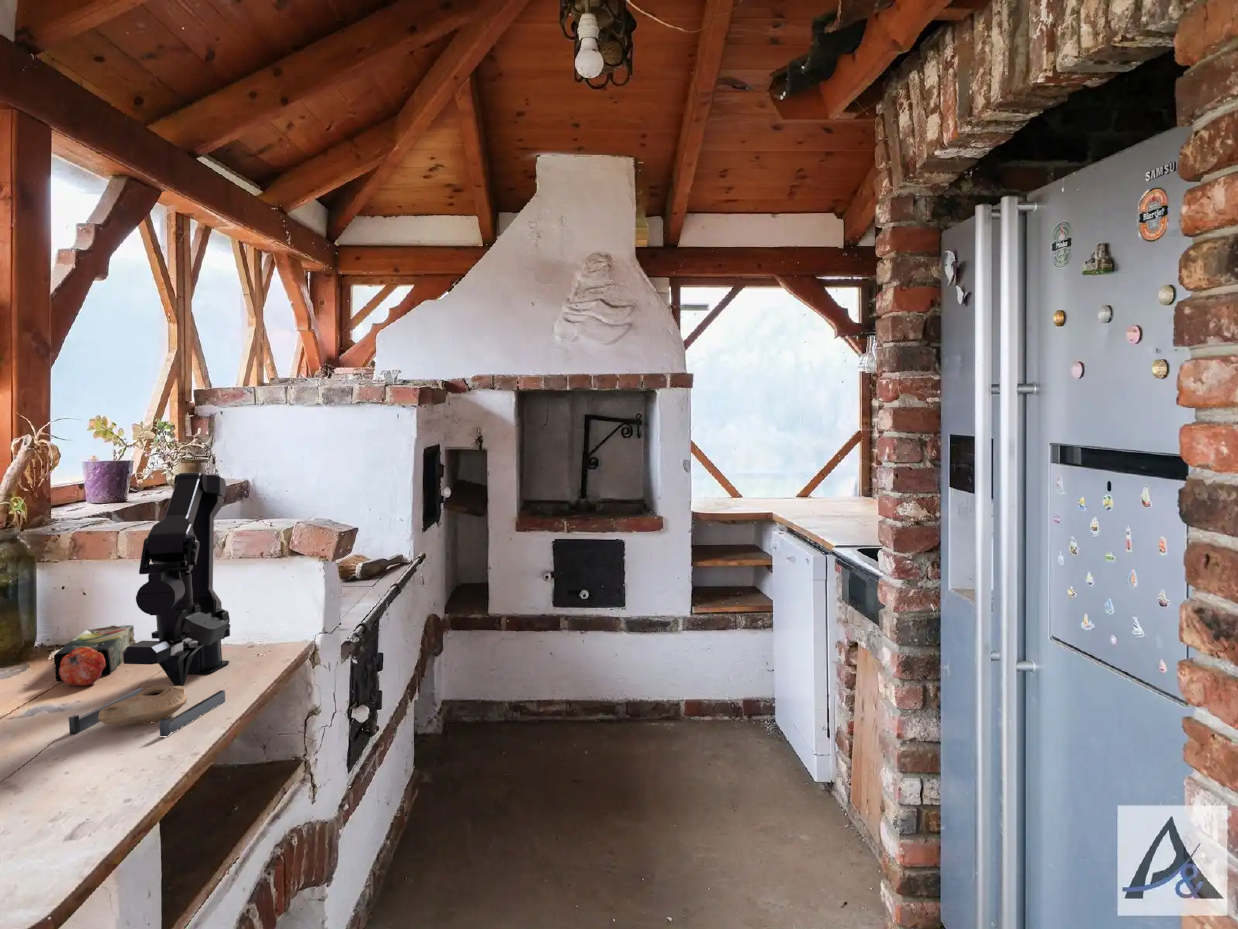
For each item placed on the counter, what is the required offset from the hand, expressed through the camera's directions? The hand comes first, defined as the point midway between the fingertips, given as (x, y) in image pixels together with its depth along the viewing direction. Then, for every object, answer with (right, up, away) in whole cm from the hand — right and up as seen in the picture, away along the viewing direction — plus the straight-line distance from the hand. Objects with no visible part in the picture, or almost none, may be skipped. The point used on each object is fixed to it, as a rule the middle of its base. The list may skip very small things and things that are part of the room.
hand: (179, 687), depth 136 cm
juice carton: (-29, -2, +22) cm, 37 cm away
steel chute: (-1, -3, -7) cm, 7 cm away
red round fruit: (-24, -3, +10) cm, 26 cm away
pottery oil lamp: (-1, -4, -8) cm, 9 cm away
